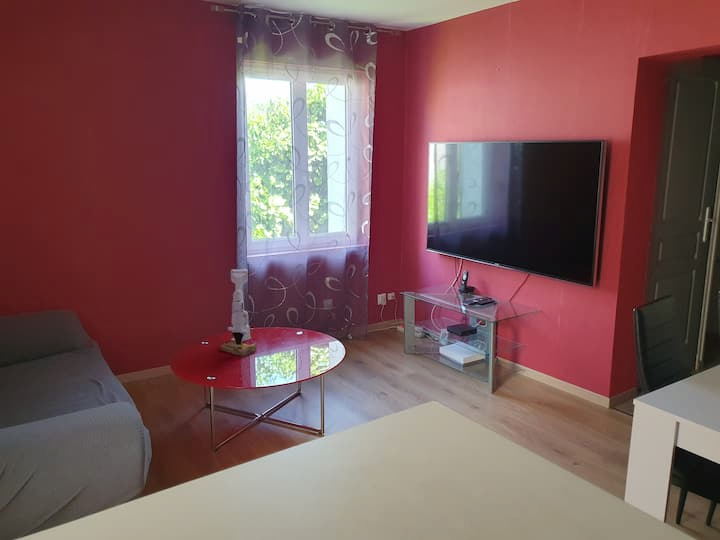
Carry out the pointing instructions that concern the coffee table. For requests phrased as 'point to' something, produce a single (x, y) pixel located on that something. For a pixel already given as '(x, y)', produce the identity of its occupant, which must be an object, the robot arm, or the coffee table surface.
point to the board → (238, 348)
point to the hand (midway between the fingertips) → (238, 344)
